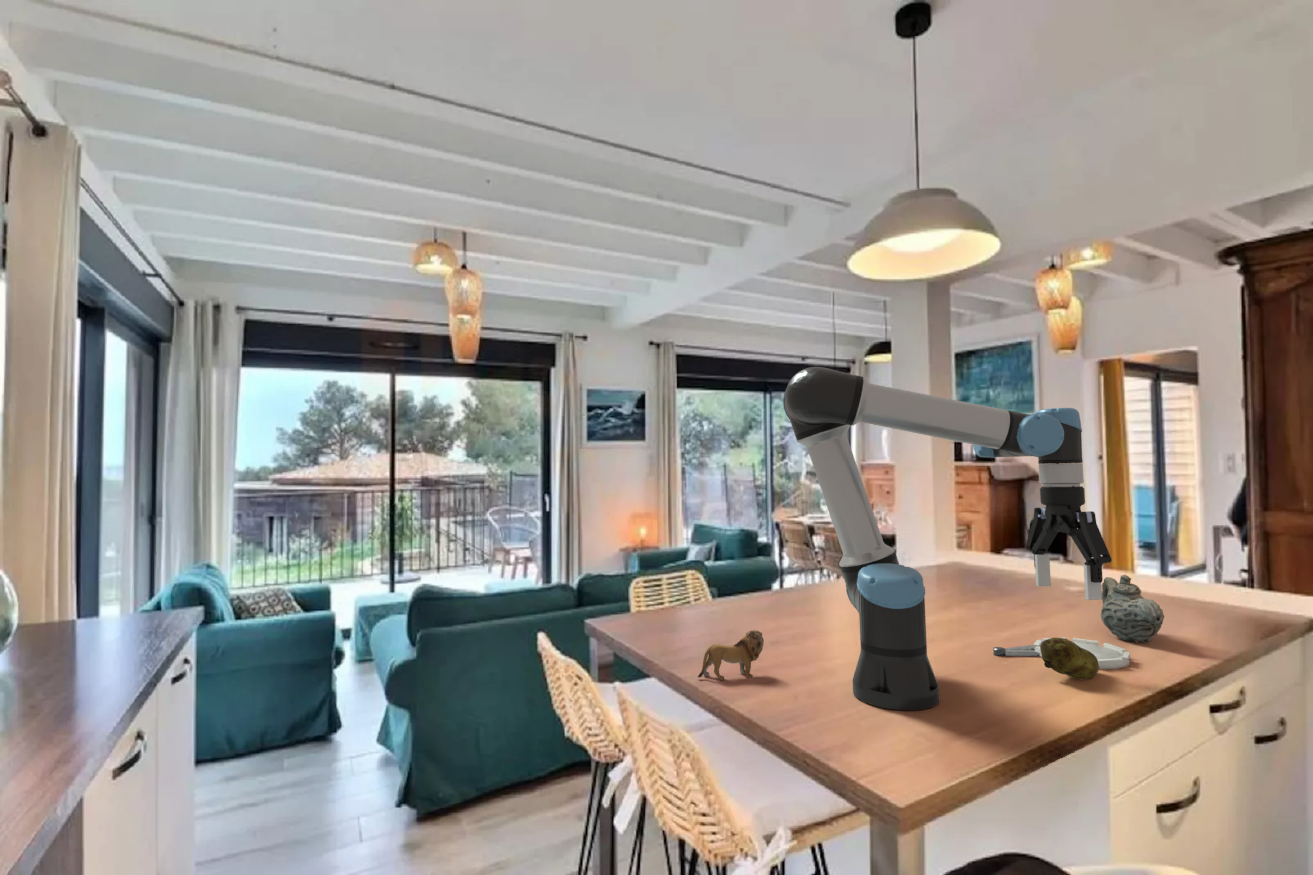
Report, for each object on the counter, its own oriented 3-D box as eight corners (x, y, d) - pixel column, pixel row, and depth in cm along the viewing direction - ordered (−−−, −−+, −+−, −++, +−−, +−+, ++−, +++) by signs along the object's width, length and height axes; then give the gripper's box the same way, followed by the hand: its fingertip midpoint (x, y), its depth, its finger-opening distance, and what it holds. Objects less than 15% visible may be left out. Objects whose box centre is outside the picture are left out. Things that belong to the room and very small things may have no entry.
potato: (1120, 682, 121) (1117, 640, 121) (1059, 687, 119) (1056, 644, 119) (1085, 668, 129) (1083, 629, 129) (1028, 673, 127) (1025, 633, 128)
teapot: (1187, 652, 138) (1182, 582, 138) (1129, 651, 140) (1125, 582, 140) (1130, 627, 159) (1126, 567, 160) (1080, 626, 161) (1076, 567, 161)
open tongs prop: (1007, 661, 135) (1007, 654, 135) (982, 649, 144) (982, 643, 144) (1078, 657, 136) (1078, 651, 136) (1049, 645, 145) (1048, 639, 145)
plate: (1072, 671, 128) (1071, 662, 128) (1018, 647, 144) (1017, 639, 145) (1150, 667, 129) (1150, 658, 129) (1088, 643, 146) (1087, 636, 146)
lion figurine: (759, 668, 135) (757, 626, 135) (769, 676, 130) (768, 632, 130) (693, 676, 131) (692, 632, 132) (702, 684, 126) (700, 639, 127)
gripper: (1130, 486, 114) (1137, 605, 113) (1036, 483, 139) (1041, 580, 138) (1091, 487, 113) (1098, 606, 112) (1004, 484, 138) (1009, 581, 137)
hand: (1067, 592), depth 125 cm, fingers open, 13 cm apart
